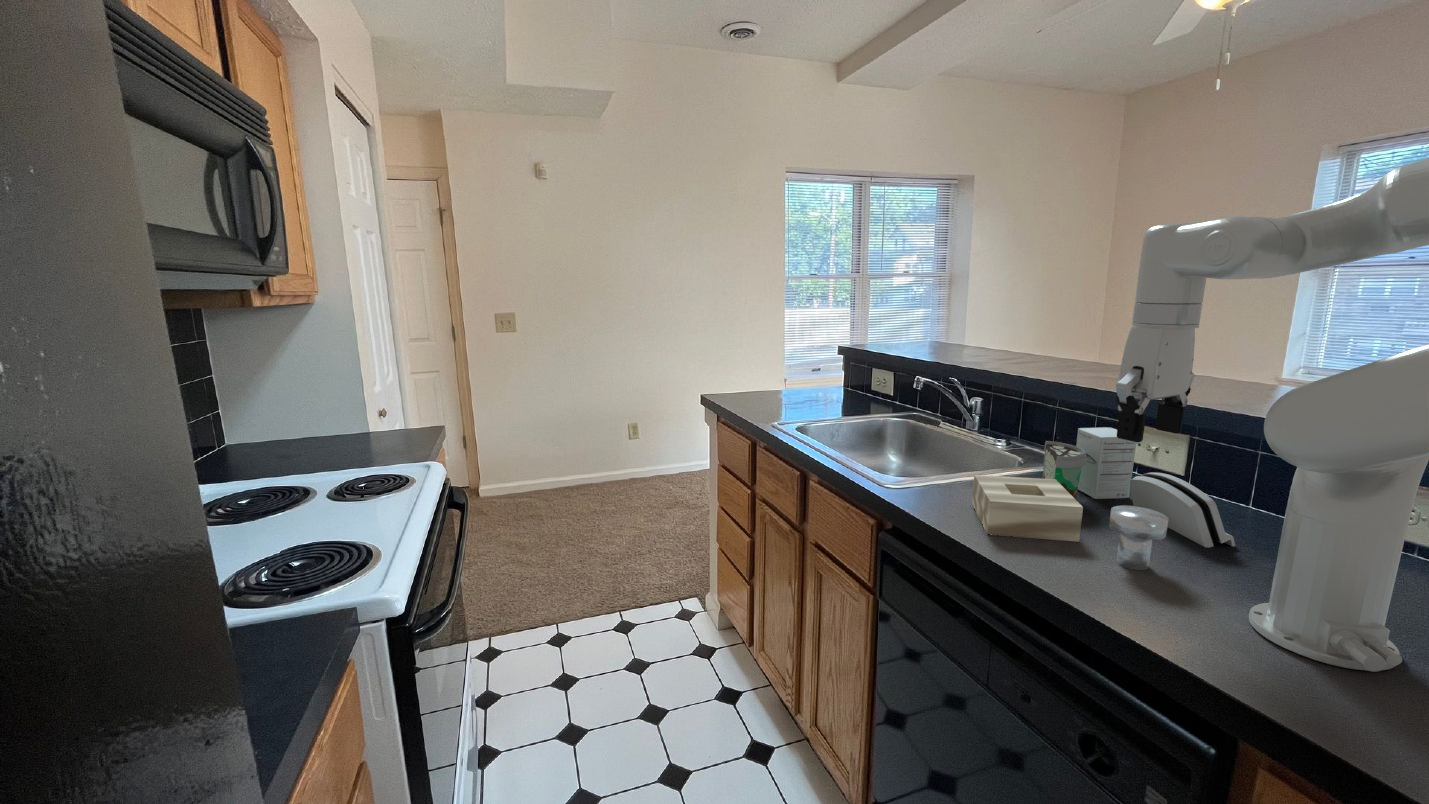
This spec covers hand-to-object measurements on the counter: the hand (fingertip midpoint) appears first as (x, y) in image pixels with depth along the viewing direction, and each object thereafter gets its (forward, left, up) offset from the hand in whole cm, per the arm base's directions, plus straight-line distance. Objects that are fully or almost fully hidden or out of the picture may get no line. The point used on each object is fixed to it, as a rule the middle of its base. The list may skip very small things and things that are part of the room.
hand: (1148, 435), depth 87 cm
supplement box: (+33, -7, -20) cm, 39 cm away
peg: (0, 0, -20) cm, 20 cm away
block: (+14, +12, -20) cm, 27 cm away
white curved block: (+17, -13, -20) cm, 29 cm away
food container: (+28, +1, -20) cm, 34 cm away
